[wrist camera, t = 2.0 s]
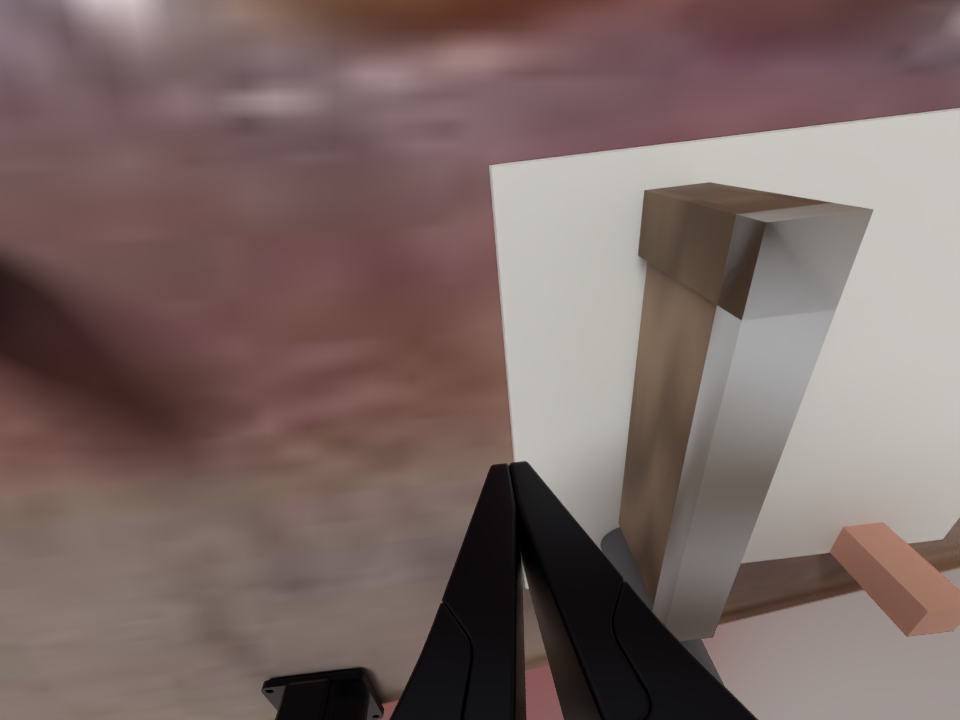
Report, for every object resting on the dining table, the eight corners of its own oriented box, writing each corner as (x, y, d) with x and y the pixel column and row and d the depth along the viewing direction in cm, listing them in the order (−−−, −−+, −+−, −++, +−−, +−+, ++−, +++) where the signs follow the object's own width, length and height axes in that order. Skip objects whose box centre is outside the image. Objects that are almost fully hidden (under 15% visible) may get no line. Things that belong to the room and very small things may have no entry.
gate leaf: (651, 519, 18) (713, 637, 13) (612, 523, 18) (661, 643, 13) (709, 182, 11) (873, 209, 6) (644, 190, 11) (766, 222, 6)
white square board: (926, 526, 21) (1159, 716, 14) (523, 574, 21) (557, 787, 14) (1249, 72, 11) (2558, -38, 4) (489, 165, 11) (544, 206, 4)
